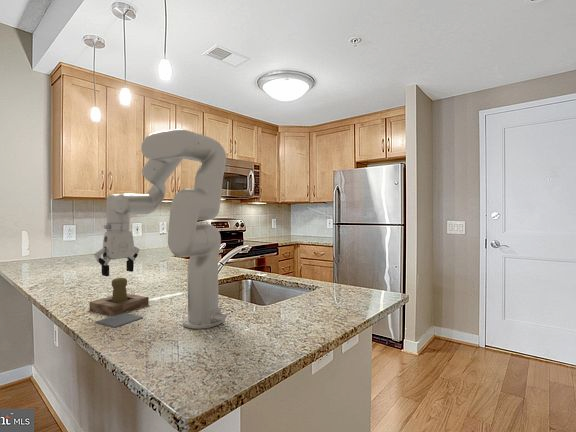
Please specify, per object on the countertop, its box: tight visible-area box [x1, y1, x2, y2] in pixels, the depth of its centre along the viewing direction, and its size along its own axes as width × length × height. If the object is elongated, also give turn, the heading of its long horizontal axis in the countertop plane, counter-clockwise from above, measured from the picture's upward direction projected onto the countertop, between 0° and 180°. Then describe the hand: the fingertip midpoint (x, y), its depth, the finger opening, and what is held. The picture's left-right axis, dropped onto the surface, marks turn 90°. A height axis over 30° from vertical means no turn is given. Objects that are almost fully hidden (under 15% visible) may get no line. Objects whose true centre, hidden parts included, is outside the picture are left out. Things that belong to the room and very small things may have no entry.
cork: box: [111, 277, 128, 303], centre depth 119 cm, size 6×6×11 cm
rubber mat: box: [95, 312, 144, 328], centre depth 105 cm, size 10×10×1 cm
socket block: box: [88, 293, 150, 317], centre depth 119 cm, size 14×14×3 cm
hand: (118, 273), depth 119 cm, fingers open, 9 cm apart
